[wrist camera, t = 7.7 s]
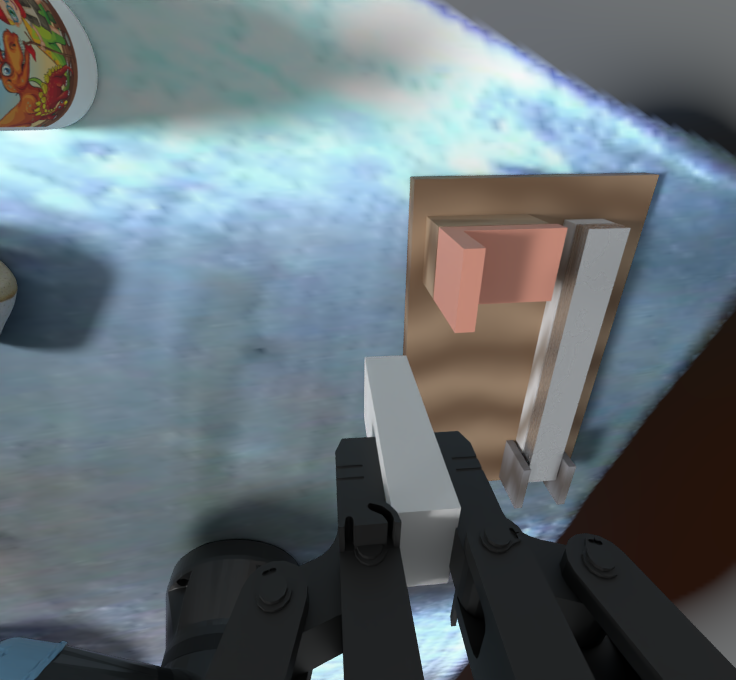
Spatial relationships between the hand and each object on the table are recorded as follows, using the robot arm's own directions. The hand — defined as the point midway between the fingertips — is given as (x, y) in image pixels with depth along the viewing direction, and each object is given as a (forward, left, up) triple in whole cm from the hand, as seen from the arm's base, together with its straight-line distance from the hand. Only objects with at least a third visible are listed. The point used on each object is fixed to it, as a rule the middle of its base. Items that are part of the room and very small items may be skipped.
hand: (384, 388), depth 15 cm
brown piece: (-10, -13, -19) cm, 25 cm away
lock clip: (0, -9, -14) cm, 16 cm away
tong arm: (-10, -17, -15) cm, 25 cm away
